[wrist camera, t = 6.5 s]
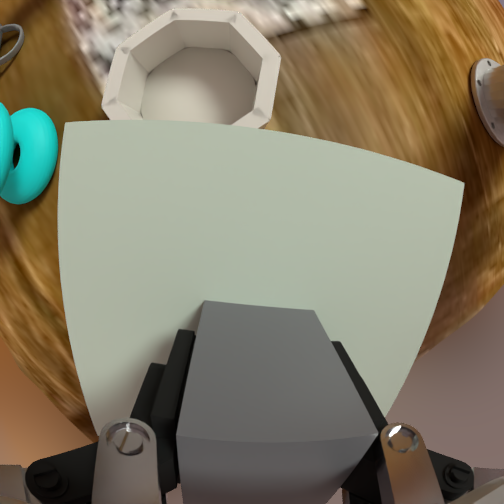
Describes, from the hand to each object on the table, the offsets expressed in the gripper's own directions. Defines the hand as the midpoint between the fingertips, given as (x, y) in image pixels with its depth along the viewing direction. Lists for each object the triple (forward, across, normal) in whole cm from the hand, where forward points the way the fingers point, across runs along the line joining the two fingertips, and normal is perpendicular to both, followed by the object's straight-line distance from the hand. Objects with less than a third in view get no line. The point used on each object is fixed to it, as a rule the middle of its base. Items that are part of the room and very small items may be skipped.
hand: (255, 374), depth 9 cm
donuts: (+17, +24, -7) cm, 30 cm away
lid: (+2, 0, 0) cm, 2 cm away
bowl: (+17, +6, -13) cm, 22 cm away
